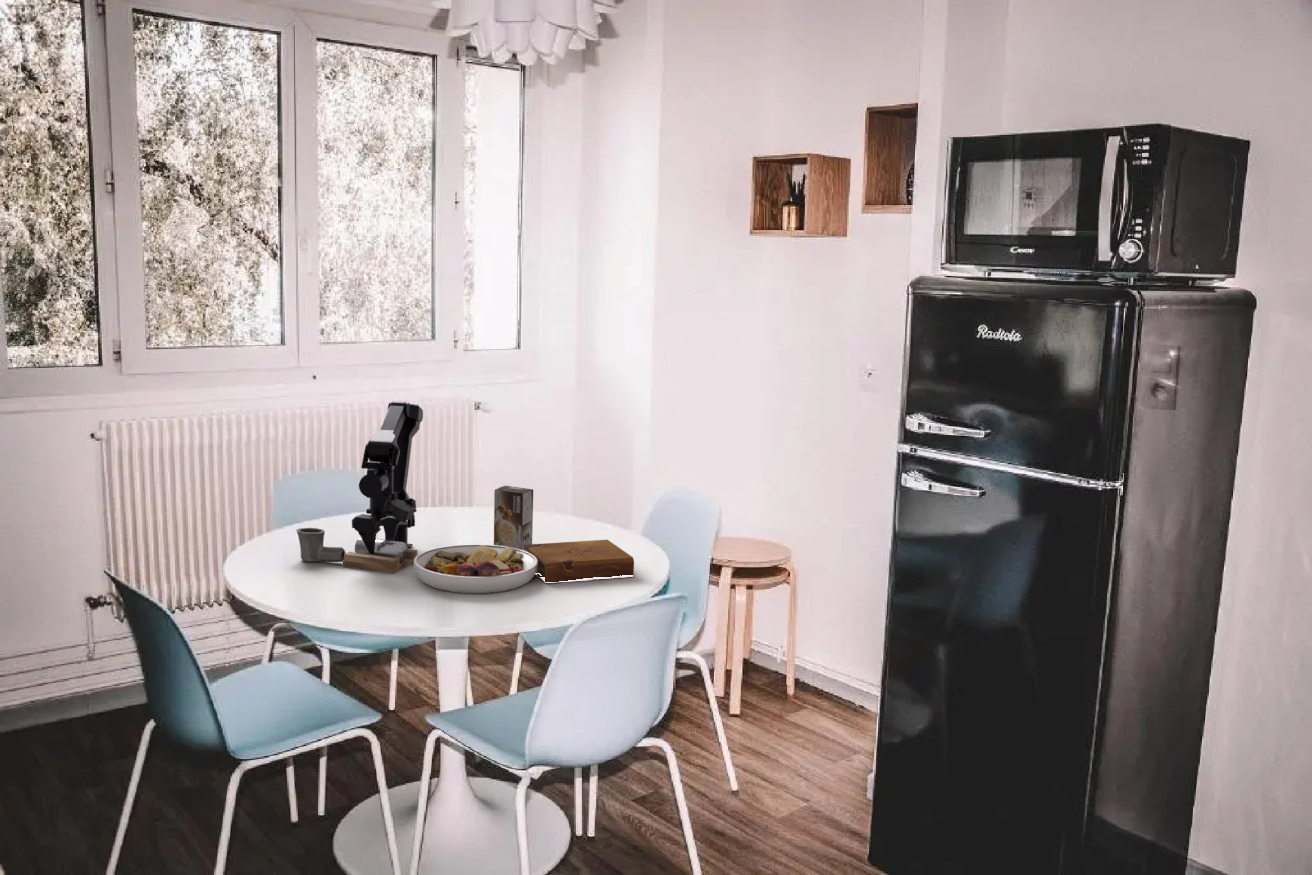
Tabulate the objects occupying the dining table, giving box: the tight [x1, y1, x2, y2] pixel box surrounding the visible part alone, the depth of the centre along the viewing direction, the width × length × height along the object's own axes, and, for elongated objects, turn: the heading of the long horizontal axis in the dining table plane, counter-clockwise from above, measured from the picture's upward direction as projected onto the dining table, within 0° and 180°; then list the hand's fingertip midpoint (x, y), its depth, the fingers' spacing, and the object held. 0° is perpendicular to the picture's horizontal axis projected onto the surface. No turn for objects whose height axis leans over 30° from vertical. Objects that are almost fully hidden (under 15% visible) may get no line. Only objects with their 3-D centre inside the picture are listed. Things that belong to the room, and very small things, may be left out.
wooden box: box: [524, 539, 635, 582], centre depth 301 cm, size 23×19×6 cm
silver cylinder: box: [354, 536, 408, 562], centre depth 298 cm, size 5×12×5 cm, turn 73°
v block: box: [342, 548, 418, 575], centre depth 299 cm, size 13×14×3 cm
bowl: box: [413, 543, 538, 594], centre depth 290 cm, size 30×30×8 cm
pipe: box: [296, 527, 347, 563], centre depth 298 cm, size 6×13×8 cm, turn 78°
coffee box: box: [493, 485, 534, 551], centre depth 320 cm, size 9×6×16 cm
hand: (381, 549), depth 298 cm, fingers open, 9 cm apart
